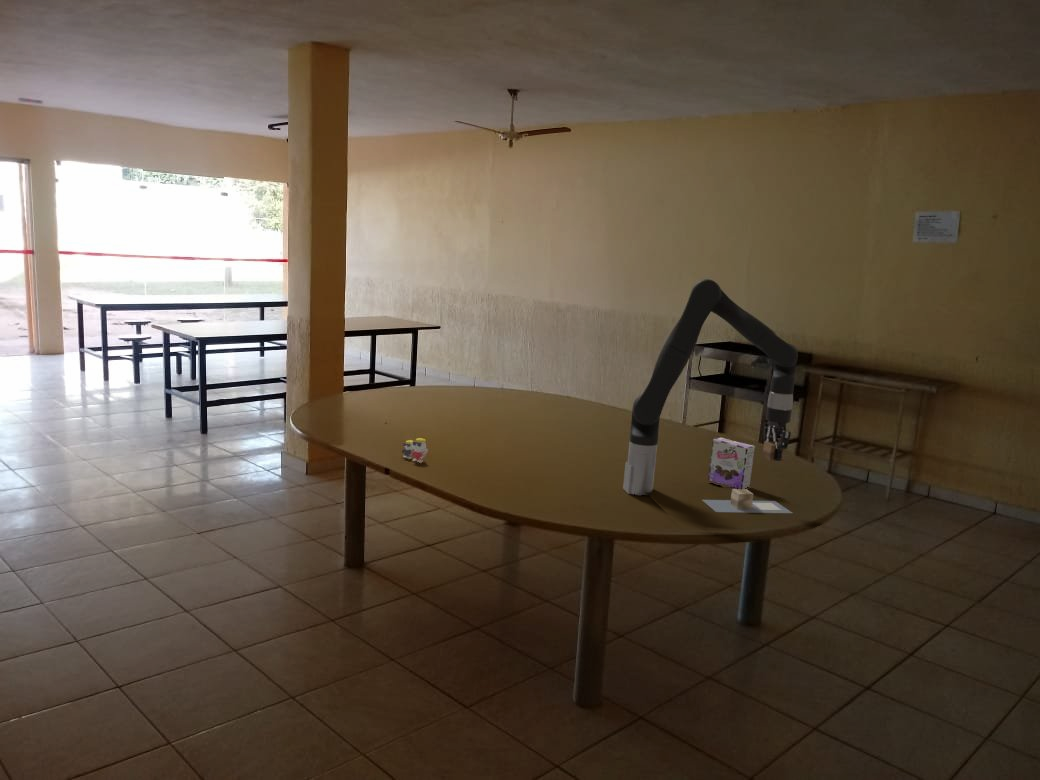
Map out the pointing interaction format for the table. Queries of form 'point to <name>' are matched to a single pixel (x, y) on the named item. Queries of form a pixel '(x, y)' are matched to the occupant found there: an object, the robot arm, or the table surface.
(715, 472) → the candy box
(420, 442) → the toy figures
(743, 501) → the birch block
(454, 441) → the table surface
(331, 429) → the table surface
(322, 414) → the table surface
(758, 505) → the board
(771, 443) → the walnut block
